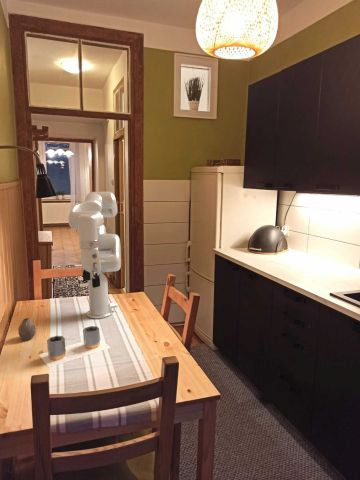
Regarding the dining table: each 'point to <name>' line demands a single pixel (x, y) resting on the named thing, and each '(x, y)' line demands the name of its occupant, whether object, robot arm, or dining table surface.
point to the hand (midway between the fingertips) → (91, 283)
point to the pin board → (73, 353)
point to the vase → (27, 329)
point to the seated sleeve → (56, 348)
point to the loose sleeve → (91, 337)
